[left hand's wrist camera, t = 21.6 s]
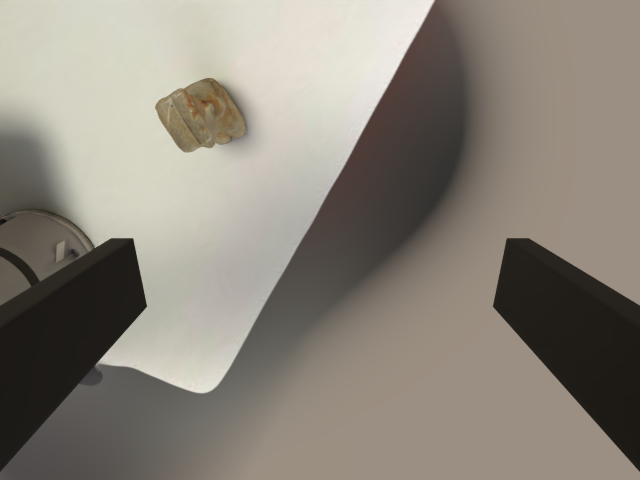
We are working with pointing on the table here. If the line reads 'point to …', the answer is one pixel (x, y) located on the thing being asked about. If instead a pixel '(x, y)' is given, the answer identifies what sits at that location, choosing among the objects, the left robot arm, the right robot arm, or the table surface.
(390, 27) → the table surface
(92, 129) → the table surface
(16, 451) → the left robot arm
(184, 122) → the sculpture
